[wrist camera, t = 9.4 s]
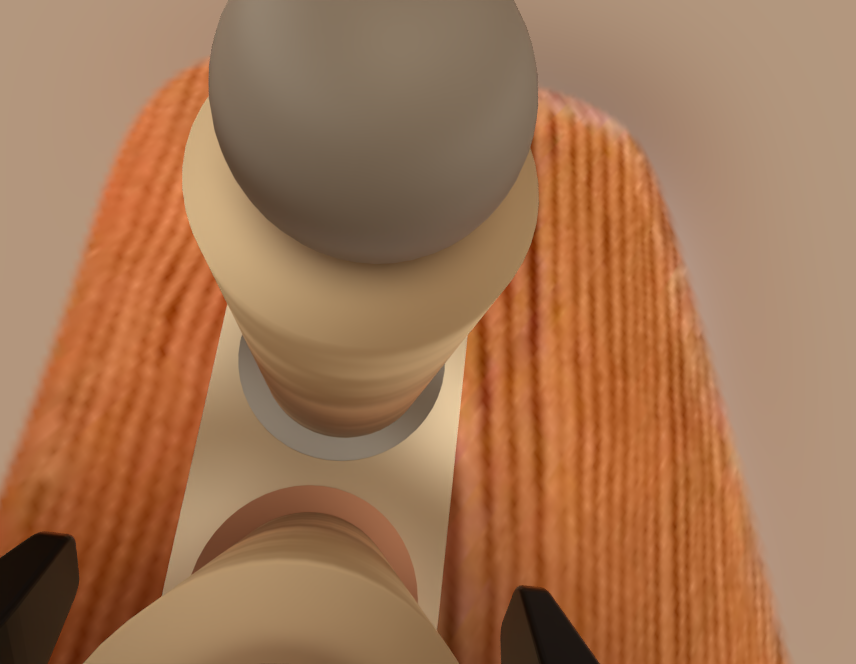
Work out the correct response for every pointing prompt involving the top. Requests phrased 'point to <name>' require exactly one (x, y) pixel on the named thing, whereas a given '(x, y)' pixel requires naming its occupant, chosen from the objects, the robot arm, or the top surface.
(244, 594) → the terracotta ball tube
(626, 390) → the top surface
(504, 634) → the robot arm
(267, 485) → the board
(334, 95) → the grey ball tube
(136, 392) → the top surface
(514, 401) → the top surface
